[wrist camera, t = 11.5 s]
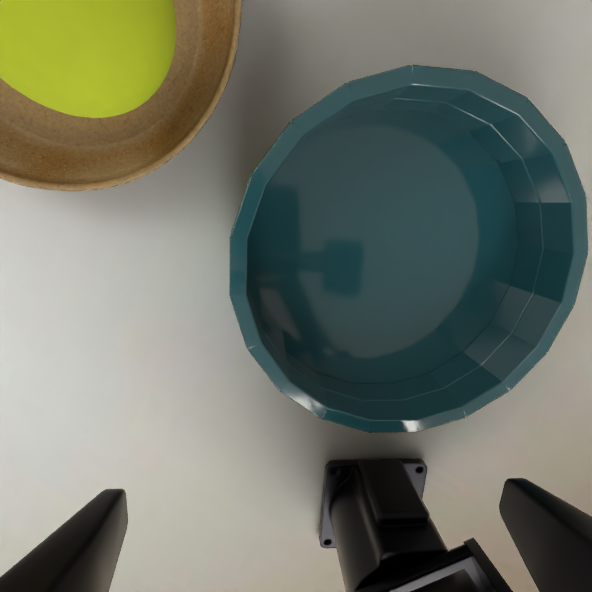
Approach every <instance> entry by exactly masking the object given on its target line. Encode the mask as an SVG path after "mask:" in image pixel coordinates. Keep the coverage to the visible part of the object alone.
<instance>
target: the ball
mask: <svg viewBox="0 0 592 592" xmlns="http://www.w3.org/2000/svg"><path fill="white" fill-rule="evenodd" d="M175 43H176V19H175V9H174V3H173V0H0V78H1V79H2V80H4V81H5V82H6V83H7V84H9V85H10V86H11V87H12V88H14V89H16V90H17V91H19V92H20V93H22V94H23V95H25V96H26V97H28V98H30V99H31V100H33V101H35V102H37V103H39V104H41V105H43V106H45V107H48V108H51V109H54V110H56V111H59V112H62V113H65V114H69V115H73V116H80V117H89V118H105V117H112V116H117V115H120V114H124V113H127V112H129V111H131V110H134V109H135V108H137V107H139V106H141V105H142V104H143V103H145V102H146V101H147V100H148V99H149V98H150V97H151V96H152V95H153V94H154V93H155V92H156V91H157V90H158V88H159V87H160V86H161V84H162V82H163V81H164V79H165V77H166V75H167V73H168V71H169V68H170V65H171V63H172V59H173V55H174V50H175Z"/></svg>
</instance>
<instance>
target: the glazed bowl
mask: <svg viewBox="0 0 592 592" xmlns="http://www.w3.org/2000/svg"><path fill="white" fill-rule="evenodd" d="M251 175H252V176H250V178H249V181H248V184H247V187H246V190H245V193H244V196H243V199H242V202H241V205H240V208H239V211H238V213H237V216H236V219H235V222H234V225H233V228H232V231H231V236H230V299H231V302H232V305H233V308H234V311H235V314H236V317H237V320H238V323H239V326H240V329H241V332H242V335H243V338H244V341H245V344H246V347H247V349H248V351H249V352H250V353H251V355H252V356H253V357H254V359H255V360H256V361H257V362H258V364H259V365H260V366H261V368H262V369H263V370H264V372H265V373H266V374H267V376H268V377H269V378H270V380H271V381H272V382H273V383H274V385H275V386H276V387H277V389H278V390H280V392H282V393H283V394H285V395H286V396H288V397H289V398H291V399H292V400H294V401H295V402H297V403H298V404H300V405H301V406H303V407H304V408H306V409H307V410H309V411H310V412H312V413H313V414H315V415H316V416H318V417H319V418H321V419H324V420H327V421H331V422H334V423H338V424H341V425H345V426H348V427H351V428H355V429H358V430H362V431H365V432H369V433H372V432H417V431H422V430H425V429H428V428H432V427H435V426H439V425H442V424H446V423H449V422H452V421H456V420H459V419H463V418H465V417H467V416H469V415H470V414H472V413H474V412H475V411H477V410H479V409H480V408H482V407H484V406H485V405H487V404H489V403H490V402H492V401H494V400H495V399H497V398H499V397H500V396H502V395H504V394H505V393H507V392H508V391H509V390H511V389H512V388H513V387H514V386H515V385H516V384H517V383H518V382H519V381H520V380H521V379H522V378H523V377H524V376H525V375H526V374H527V373H528V372H529V371H530V370H531V369H532V368H533V367H534V366H535V365H536V364H537V363H538V362H539V361H540V360H541V359H542V358H543V357H544V356H545V355H546V352H548V350H549V349H550V347H551V345H552V343H553V342H554V340H555V338H556V336H557V335H558V333H559V331H560V329H561V328H562V326H563V324H564V323H565V321H566V319H567V317H568V316H569V314H570V312H571V310H572V309H573V305H575V301H576V297H577V293H578V290H579V286H580V282H581V278H582V274H583V270H584V267H585V263H586V259H587V255H588V233H587V205H586V197H585V192H584V189H583V186H582V183H581V181H580V178H579V175H578V173H577V170H576V167H575V165H574V162H573V159H572V157H571V154H570V151H569V149H568V146H567V144H566V143H565V141H564V139H563V138H562V137H561V136H560V135H559V134H558V132H557V131H556V130H555V129H554V128H553V127H552V126H551V124H550V123H549V122H548V121H547V120H546V119H545V117H544V116H543V115H542V114H541V113H540V112H539V111H538V109H537V108H536V107H535V106H534V105H533V104H532V102H531V101H530V100H528V98H527V97H525V96H523V95H521V94H519V93H517V92H515V91H513V90H511V89H509V88H508V87H506V86H504V85H502V84H500V83H498V82H496V81H494V80H492V79H490V78H488V77H486V76H484V75H482V74H481V73H479V72H477V71H472V70H462V69H452V68H441V67H431V66H421V65H408V66H404V67H400V68H397V69H393V70H389V71H386V72H382V73H378V74H374V75H371V76H367V77H363V78H360V79H356V80H352V81H349V82H348V83H345V84H343V85H342V86H340V87H339V88H338V89H336V90H335V91H333V92H332V93H330V94H329V95H327V96H326V97H325V98H323V99H322V100H320V101H319V102H317V103H316V104H314V105H313V106H312V107H310V108H309V109H307V110H306V111H304V112H303V113H301V114H300V115H299V116H297V117H296V118H294V119H293V120H292V122H290V123H289V124H288V125H287V127H286V128H285V129H284V131H283V132H282V133H281V135H280V136H279V137H278V139H277V140H276V141H275V143H274V144H273V145H272V147H271V148H270V149H269V151H268V152H267V153H266V155H265V156H264V157H263V159H262V160H261V161H260V163H259V164H258V165H257V167H256V168H255V169H254V171H253V172H252V174H251Z"/></svg>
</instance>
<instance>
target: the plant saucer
mask: <svg viewBox="0 0 592 592" xmlns="http://www.w3.org/2000/svg"><path fill="white" fill-rule="evenodd" d="M173 3H174V9H175V19H176V43H175V50H174V55H173V59H172V63H171V65H170V68H169V71H168V73H167V75H166V77H165V79H164V81H163V82H162V84H161V86H160V87H159V88H158V90H157V91H156V92H155V93H154V94H153V95H152V96H151V97H150V98H149V99H148V100H147V101H146V102H145V103H143V104H142V105H141V106H139V107H137V108H135V109H134V110H131V111H129V112H127V113H124V114H120V115H117V116H112V117H105V118H89V117H80V116H73V115H69V114H65V113H62V112H59V111H56V110H54V109H51V108H48V107H45V106H43V105H41V104H39V103H37V102H35V101H33V100H31V99H30V98H28V97H26V96H25V95H23V94H22V93H20V92H19V91H17V90H16V89H14V88H12V87H11V86H10V85H9V84H7V83H6V82H5V81H4V80H2V79H1V78H0V178H1V179H4V180H6V181H9V182H12V183H15V184H19V185H23V186H27V187H33V188H40V189H47V190H61V191H83V190H96V189H103V188H107V187H113V186H117V185H120V184H123V183H127V182H130V181H132V180H135V179H137V178H139V177H142V176H144V175H146V174H148V173H149V172H151V171H153V170H155V169H157V168H158V167H160V166H162V165H163V164H165V163H166V162H168V161H169V160H170V159H171V158H173V157H174V156H176V155H177V154H178V153H179V152H180V151H181V150H182V149H183V148H184V147H185V146H186V145H187V144H188V143H189V142H190V141H191V140H192V139H193V138H194V137H195V136H196V134H197V133H198V132H199V131H200V129H201V128H202V127H203V125H204V124H205V123H206V122H207V120H208V119H209V117H210V116H211V114H212V112H213V110H214V109H215V107H216V105H217V103H218V102H219V100H220V98H221V95H222V93H223V91H224V89H225V87H226V84H227V82H228V79H229V76H230V74H231V71H232V67H233V64H234V60H235V55H236V51H237V46H238V40H239V30H240V24H241V12H242V0H173Z"/></svg>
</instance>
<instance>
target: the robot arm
mask: <svg viewBox="0 0 592 592" xmlns="http://www.w3.org/2000/svg"><path fill="white" fill-rule="evenodd" d="M419 466H420V467H419ZM417 467H419V468H417ZM334 468H336V470H333V471H332V469H334ZM416 468H417V469H416ZM426 473H427V466H426V465H425V463H424V461H423V460H421V459H378V460H333V461H330V462H328V463H327V464H326V466H325V476H324V487H323V499H322V510H321V522H320V533H319V539H320V545H321V546H322V547H323V548H337V552H338V557H339V561H340V566H341V571H342V575H343V580H344V585H345V589H346V592H513V591H512V590H511V589H510V587H509V586H508V584H507V583H506V582H505V580H504V579H503V578H502V576H501V575H500V573H499V572H498V571H497V569H496V568H495V567H494V565H493V564H492V562H491V561H490V560H489V558H488V557H487V556H486V554H485V553H484V551H483V550H482V549H481V547H480V546H479V545H478V543H477V542H476V540H475V539H474V538H472V539H469V540H467V541H465V542H464V544H463V545H461V546H459V547H456V548H454V549H452V550H449V551H448V550H447V548H446V546H445V544H444V542H443V540H442V538H441V537H440V535H439V533H438V531H437V529H436V527H435V525H434V523H433V522H432V520H431V518H430V515H429V512H428V510H427V508H426V506H425V504H424V502H423V501H422V496H423V491H424V485H425V479H426ZM499 509H500V514H501V516H502V519H503V521H504V523H505V525H506V527H507V529H508V531H509V533H510V535H511V537H512V539H513V541H514V543H515V545H516V547H517V549H518V551H519V553H520V555H521V557H522V559H523V561H524V563H525V565H526V567H527V569H528V570H529V572H530V574H531V576H532V578H533V580H534V582H535V584H536V586H537V588H538V589H539V591H540V592H592V517H591V516H589V515H588V514H586V513H584V512H582V511H581V510H579V509H577V508H575V507H574V506H572V505H570V504H568V503H567V502H565V501H563V500H561V499H560V498H558V497H556V496H554V495H553V494H551V493H549V492H547V491H546V490H544V489H542V488H540V487H539V486H537V485H535V484H533V483H532V482H530V481H528V480H526V479H523V478H511V479H507V480H506V482H505V484H504V488H503V492H502V496H501V500H500V505H499ZM127 524H128V514H127V501H126V493H125V490H123V489H106V490H104V491H102V492H101V493H100V494H98V495H97V496H96V497H95V498H94V499H93V500H91V501H90V502H89V503H88V504H87V505H85V506H84V507H83V508H82V509H81V510H80V511H78V512H77V513H76V514H75V515H74V516H72V517H71V518H70V519H69V520H68V521H66V522H65V523H64V524H63V525H62V526H61V527H59V528H58V529H57V530H56V531H55V532H53V533H52V534H51V535H50V536H49V537H48V538H46V539H45V540H44V541H43V542H42V543H40V544H39V545H38V546H37V547H36V548H34V549H33V550H32V551H31V552H30V553H29V554H27V555H26V556H25V557H24V558H23V559H21V560H20V561H19V562H18V563H17V564H16V565H14V566H13V567H12V568H11V569H10V570H8V571H7V572H6V573H5V574H4V575H2V576H1V577H0V592H109V588H110V585H111V581H112V578H113V575H114V571H115V568H116V564H117V561H118V557H119V554H120V551H121V547H122V544H123V540H124V537H125V533H126V530H127ZM326 539H328V540H326Z"/></svg>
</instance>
